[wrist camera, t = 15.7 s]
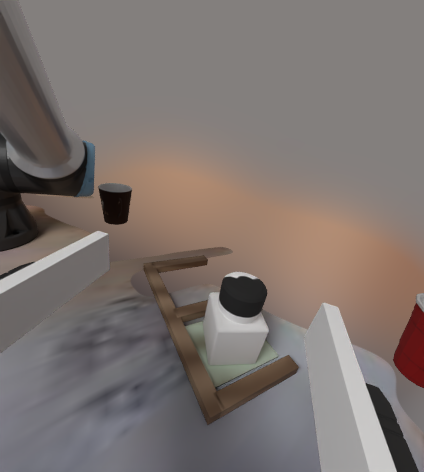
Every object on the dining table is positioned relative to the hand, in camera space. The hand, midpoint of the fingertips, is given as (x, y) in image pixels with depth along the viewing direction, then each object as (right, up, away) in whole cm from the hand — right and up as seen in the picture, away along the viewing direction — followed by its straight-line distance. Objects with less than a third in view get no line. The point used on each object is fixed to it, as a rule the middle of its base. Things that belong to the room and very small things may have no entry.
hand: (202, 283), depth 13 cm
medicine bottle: (+3, -14, +21) cm, 25 cm away
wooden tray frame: (-1, -11, +26) cm, 28 cm away
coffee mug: (-28, +7, +51) cm, 59 cm away
